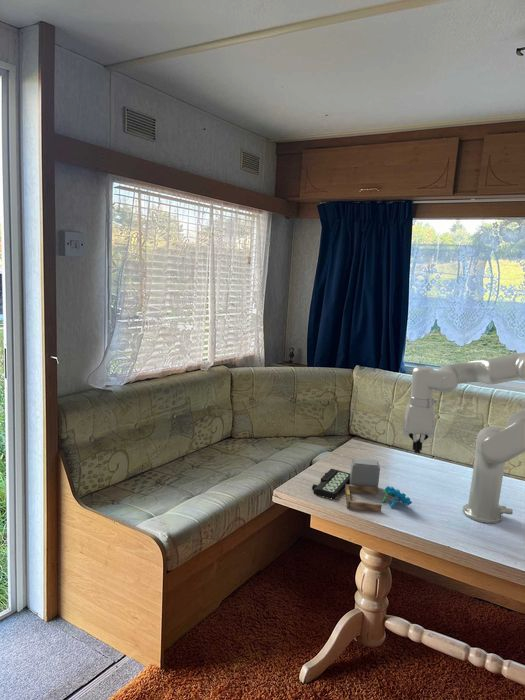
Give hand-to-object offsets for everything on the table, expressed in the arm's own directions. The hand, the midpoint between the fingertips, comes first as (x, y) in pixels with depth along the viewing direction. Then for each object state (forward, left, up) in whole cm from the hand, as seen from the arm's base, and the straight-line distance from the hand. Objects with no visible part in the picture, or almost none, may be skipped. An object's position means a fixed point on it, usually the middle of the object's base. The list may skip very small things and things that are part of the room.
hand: (416, 451), depth 184 cm
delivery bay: (+18, +4, -19) cm, 26 cm away
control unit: (+17, -7, -19) cm, 26 cm away
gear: (+6, +4, -19) cm, 21 cm away
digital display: (+29, -6, -19) cm, 35 cm away
